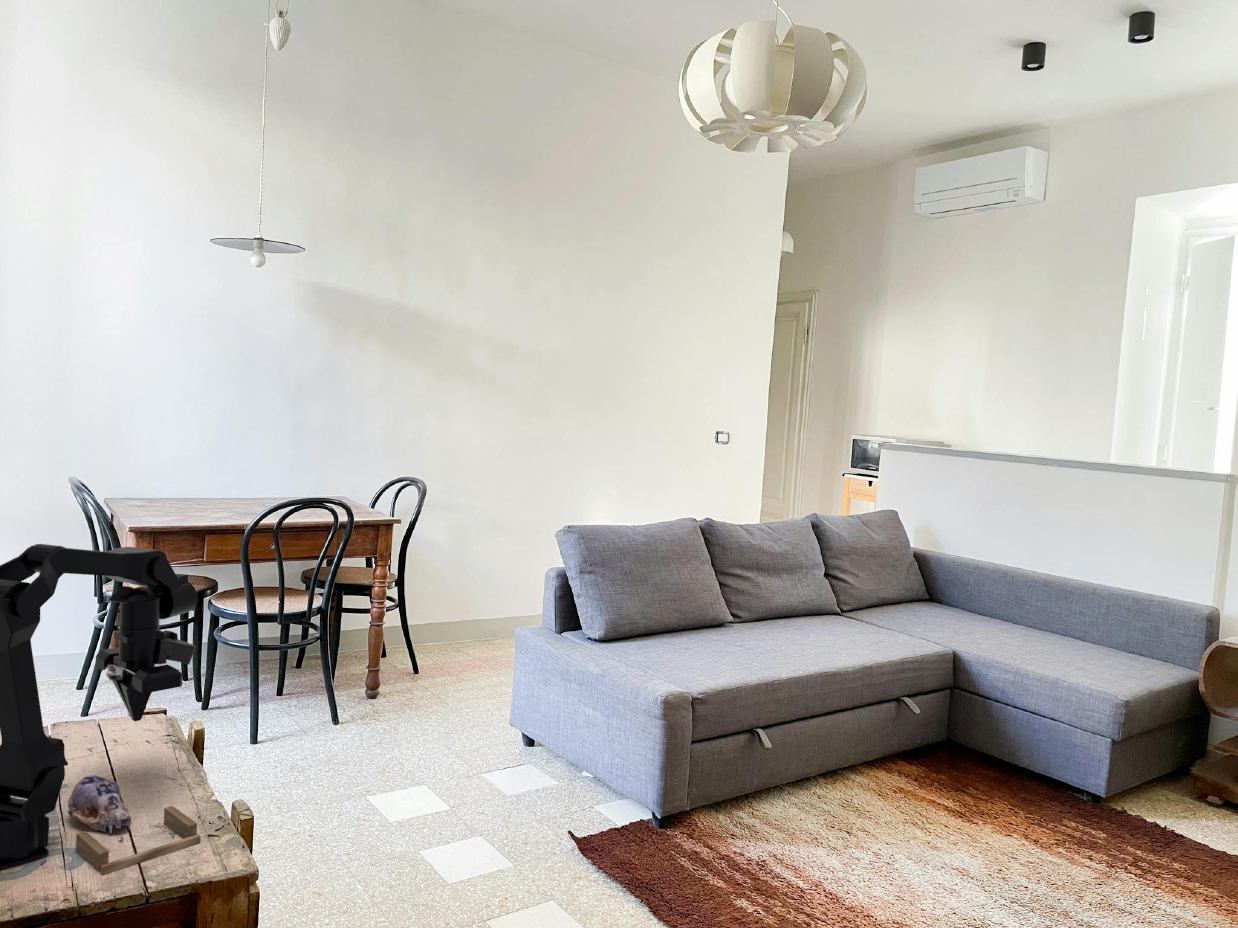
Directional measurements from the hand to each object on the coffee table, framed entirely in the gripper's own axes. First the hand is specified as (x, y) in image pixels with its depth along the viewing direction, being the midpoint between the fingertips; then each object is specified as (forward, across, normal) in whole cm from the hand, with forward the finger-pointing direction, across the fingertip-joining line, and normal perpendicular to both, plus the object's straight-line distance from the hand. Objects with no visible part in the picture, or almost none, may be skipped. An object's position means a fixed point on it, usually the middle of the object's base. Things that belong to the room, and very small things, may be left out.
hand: (136, 720), depth 149 cm
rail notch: (+12, -19, +7) cm, 23 cm away
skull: (+12, -7, +8) cm, 16 cm away
